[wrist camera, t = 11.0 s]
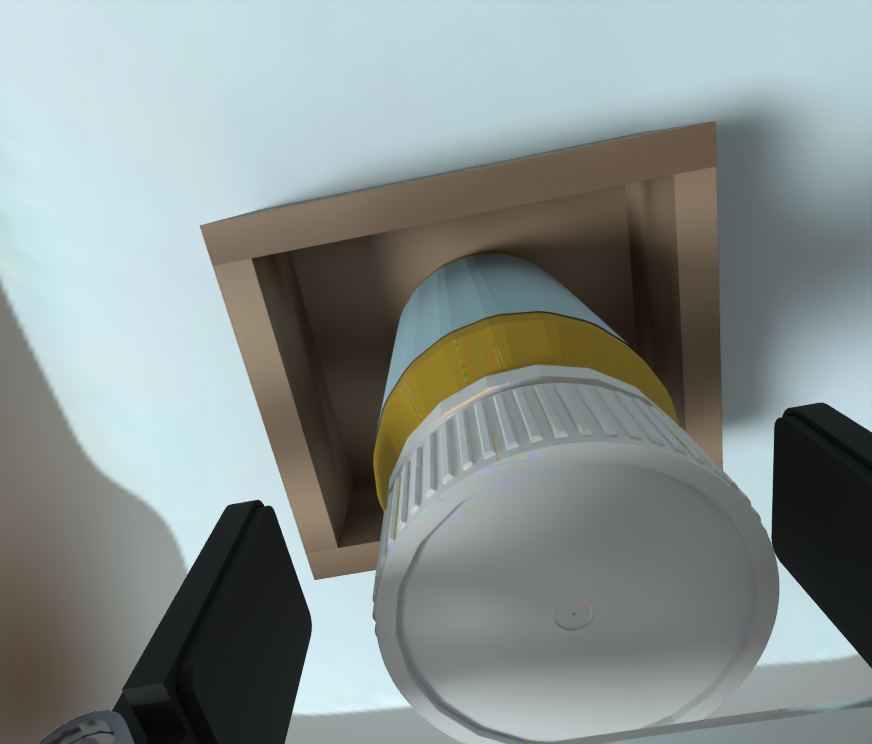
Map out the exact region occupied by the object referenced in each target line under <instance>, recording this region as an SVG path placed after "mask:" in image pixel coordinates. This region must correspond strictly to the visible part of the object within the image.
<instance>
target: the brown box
mask: <svg viewBox="0 0 872 744" xmlns="http://www.w3.org/2000/svg"><path fill="white" fill-rule="evenodd" d="M200 228H201V231H202V234H203V238H204V241H205V244H206V247H207V250H208V253H209V256H210V259H211V262H212V265H213V268H214V271H215V275H216V278H217V281H218V284H219V287H220V290H221V293H222V296H223V299H224V302H225V305H226V308H227V312H228V315H229V318H230V321H231V324H232V327H233V330H234V333H235V336H236V339H237V342H238V345H239V349H240V352H241V355H242V358H243V361H244V364H245V367H246V370H247V373H248V376H249V379H250V383H251V386H252V389H253V392H254V395H255V398H256V401H257V404H258V407H259V410H260V413H261V416H262V420H263V423H264V426H265V429H266V432H267V435H268V438H269V441H270V444H271V447H272V450H273V453H274V457H275V460H276V463H277V466H278V469H279V472H280V475H281V478H282V481H283V484H284V487H285V490H286V494H287V497H288V500H289V503H290V506H291V509H292V512H293V515H294V518H295V521H296V524H297V527H298V531H299V534H300V537H301V540H302V543H303V546H304V549H305V552H306V555H307V558H308V561H309V565H310V568H311V571H312V574H313V577H314V580H318V579H324V578H330V577H336V576H342V575H348V574H354V573H360V572H366V571H372V570H376V569H377V561H378V554H379V546H380V539H381V531H382V524H383V517H384V511H383V509H382V507H381V505H380V502H379V499H378V496H377V489H376V481H375V474H374V466H373V460H374V450H375V439H376V434H377V429H378V424H379V419H380V414H381V409H382V404H383V399H384V394H385V389H386V384H387V379H388V374H389V369H390V364H391V359H392V354H393V349H394V344H395V339H396V334H397V330H398V325H399V321H400V317H401V314H402V312H403V309H404V307H405V305H406V303H407V302H408V300H409V298H410V297H411V295H412V293H413V292H414V290H415V288H416V287H417V286H418V285H419V284H420V282H422V281H423V280H424V279H425V278H426V277H427V276H429V275H430V274H431V273H432V272H433V271H434V270H436V269H437V268H438V267H440V266H442V265H443V264H445V263H448V262H450V261H453V260H455V259H457V258H460V257H462V256H465V255H469V254H477V253H489V252H498V253H504V254H508V255H513V256H517V257H521V258H524V259H526V260H528V261H530V262H532V263H534V264H535V265H537V266H539V267H540V268H542V269H543V270H545V271H546V272H548V273H550V274H551V275H552V276H553V277H554V278H556V279H557V280H558V281H559V282H560V283H561V284H562V285H563V286H564V287H565V288H567V289H568V290H569V291H570V292H571V293H572V294H573V295H574V296H575V297H577V298H578V299H579V300H580V301H581V302H582V303H583V304H584V305H585V306H587V307H588V308H589V309H590V310H591V311H592V312H593V313H594V314H595V315H596V316H598V317H599V318H600V319H601V320H602V321H603V322H604V323H605V324H606V325H608V326H609V327H610V328H611V329H612V330H613V331H614V332H615V333H616V334H618V335H619V336H620V337H621V338H622V339H623V340H624V341H625V342H626V343H627V344H629V345H630V346H631V347H632V348H633V349H634V350H635V351H636V352H637V353H638V354H639V355H640V357H641V358H642V359H643V360H644V361H645V362H646V363H647V365H648V366H649V367H650V369H651V370H652V371H653V372H654V374H655V375H656V376H657V378H658V379H659V380H660V381H661V383H662V384H663V385H664V387H665V388H666V390H667V392H668V394H669V395H670V397H671V400H672V403H673V406H674V410H675V413H676V416H677V420H678V423H679V426H680V428H682V429H683V430H684V431H685V432H686V433H687V434H688V435H689V436H690V437H691V438H692V439H693V440H694V441H695V442H696V443H697V444H698V445H699V446H700V447H701V448H702V449H703V450H704V451H705V452H706V454H707V455H708V456H709V457H710V458H711V459H712V460H713V461H714V462H715V463H716V464H717V465H718V466H719V467H720V468H721V469H722V470H723V455H722V408H721V362H720V315H719V269H718V222H717V175H716V129H715V122H709V123H702V124H696V125H689V126H682V127H676V128H669V129H663V130H656V131H649V132H643V133H638V134H634V135H629V136H624V137H619V138H614V139H609V140H604V141H599V142H594V143H589V144H584V145H579V146H574V147H569V148H564V149H559V150H554V151H550V152H545V153H540V154H535V155H530V156H525V157H520V158H515V159H510V160H505V161H500V162H495V163H490V164H485V165H480V166H475V167H470V168H465V169H461V170H456V171H451V172H446V173H441V174H436V175H431V176H426V177H421V178H416V179H411V180H406V181H401V182H396V183H391V184H386V185H381V186H377V187H372V188H367V189H362V190H357V191H352V192H347V193H342V194H337V195H332V196H327V197H322V198H317V199H312V200H307V201H302V202H297V203H293V204H288V205H283V206H278V207H273V208H268V209H263V210H258V211H253V212H249V213H246V214H242V215H238V216H234V217H231V218H227V219H223V220H219V221H215V222H212V223H208V224H204V225H200Z"/></svg>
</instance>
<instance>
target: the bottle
mask: <svg viewBox="0 0 872 744" xmlns="http://www.w3.org/2000/svg"><path fill="white" fill-rule="evenodd" d="M373 466H374V474H375V481H376V489H377V496H378V499H379V502H380V505H381V507H382V509H383V511H384V517H383V524H382V531H381V539H380V546H379V554H378V561H377V569H376V576H375V584H374V591H373V602H374V606H373V619H374V620H375V621H376V625H375V634H376V636H377V639H378V644H379V648H380V652H381V655H382V658H383V661H384V664H385V666H386V668H387V671H388V673H389V675H390V677H391V678H392V680H393V682H394V684H395V685H396V687H397V688H398V690H399V691H400V693H401V694H402V695H403V697H404V698H405V699H406V700H407V702H408V703H409V704H410V705H411V706H412V707H413V708H414V709H415V710H416V711H417V712H418V713H419V714H420V715H421V716H422V717H424V718H425V719H426V720H427V721H429V722H430V723H431V724H432V725H433V726H435V727H436V728H438V729H439V730H441V731H442V732H444V733H446V734H447V735H449V736H451V737H452V738H454V739H456V740H458V741H460V742H462V743H464V744H539V743H546V742H553V741H559V740H566V739H573V738H580V737H587V736H594V735H601V734H608V733H615V732H622V731H629V730H636V729H643V728H650V727H657V726H664V725H671V724H678V723H685V722H692V721H699V720H702V719H704V718H705V717H706V716H708V715H709V714H710V713H711V712H713V711H714V710H715V709H716V708H718V707H719V706H720V705H721V704H722V703H724V702H725V701H726V700H727V699H728V698H729V697H730V696H731V695H732V694H733V693H734V692H735V690H737V688H738V687H739V686H740V685H741V684H742V683H743V682H744V680H745V679H746V678H747V676H748V675H749V674H750V673H751V671H752V670H753V668H754V667H755V665H756V664H757V662H758V660H759V659H760V657H761V655H762V653H763V651H764V649H765V647H766V645H767V643H768V640H769V638H770V635H771V633H772V630H773V626H774V623H775V619H776V615H777V609H778V602H779V574H778V567H777V562H776V557H775V554H774V550H773V547H772V545H771V542H770V539H769V537H768V534H767V532H766V530H765V529H764V527H763V525H762V523H761V518H760V516H759V514H758V513H757V512H756V511H755V510H754V508H753V507H752V506H751V502H750V500H749V499H748V498H747V496H746V495H745V494H744V493H743V492H742V491H741V490H740V489H739V488H738V486H737V485H736V484H735V483H734V482H733V481H732V480H731V479H730V477H729V476H728V475H727V474H726V473H725V472H724V471H723V470H722V469H721V468H720V467H719V466H718V465H717V464H716V463H715V462H714V461H713V460H712V459H711V458H710V457H709V456H708V455H707V454H706V452H705V451H704V450H703V449H702V448H701V447H700V446H699V445H698V444H697V443H696V442H695V441H694V440H693V439H692V438H691V437H690V436H689V435H688V434H687V433H686V432H685V431H684V430H683V429H682V428H680V426H679V423H678V420H677V416H676V413H675V410H674V406H673V403H672V400H671V397H670V395H669V394H668V392H667V390H666V388H665V387H664V385H663V384H662V383H661V381H660V380H659V379H658V378H657V376H656V375H655V374H654V372H653V371H652V370H651V369H650V367H649V366H648V365H647V363H646V362H645V361H644V360H643V359H642V358H641V357H640V355H639V354H638V353H637V352H636V351H635V350H634V349H633V348H632V347H631V346H630V345H629V344H627V343H626V342H625V341H624V340H623V339H622V338H621V337H620V336H619V335H618V334H616V333H615V332H614V331H613V330H612V329H611V328H610V327H609V326H608V325H606V324H605V323H604V322H603V321H602V320H601V319H600V318H599V317H598V316H596V315H595V314H594V313H593V312H592V311H591V310H590V309H589V308H588V307H587V306H585V305H584V304H583V303H582V302H581V301H580V300H579V299H578V298H577V297H575V296H574V295H573V294H572V293H571V292H570V291H569V290H568V289H567V288H565V287H564V286H563V285H562V284H561V283H560V282H559V281H558V280H557V279H556V278H554V277H553V276H552V275H551V274H550V273H548V272H546V271H545V270H543V269H542V268H540V267H539V266H537V265H535V264H534V263H532V262H530V261H528V260H526V259H524V258H521V257H517V256H513V255H508V254H504V253H498V252H489V253H477V254H469V255H465V256H462V257H460V258H457V259H455V260H453V261H450V262H448V263H445V264H443V265H442V266H440V267H438V268H437V269H436V270H434V271H433V272H432V273H431V274H430V275H429V276H427V277H426V278H425V279H424V280H423V281H422V282H420V284H419V285H418V286H417V287H416V288H415V290H414V292H413V293H412V295H411V297H410V298H409V300H408V302H407V303H406V305H405V307H404V309H403V312H402V314H401V317H400V321H399V325H398V330H397V334H396V339H395V344H394V349H393V354H392V359H391V364H390V369H389V374H388V379H387V384H386V389H385V394H384V399H383V404H382V409H381V414H380V419H379V424H378V429H377V434H376V439H375V450H374V460H373Z"/></svg>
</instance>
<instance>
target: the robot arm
mask: <svg viewBox="0 0 872 744" xmlns="http://www.w3.org/2000/svg"><path fill="white" fill-rule="evenodd" d="M772 546H773V549H774V552H775V554H776V556H777V558H778V559H779V561H780V562H781V563H782V564H783V566H784V567H785V568H786V569H787V570H788V571H789V573H790V574H791V575H792V576H793V577H794V578H795V580H796V581H797V582H798V583H799V584H800V585H801V587H802V588H803V589H804V590H805V591H806V592H807V594H808V595H809V596H810V597H811V598H812V599H813V601H814V602H815V603H816V604H817V605H818V606H819V608H820V609H821V610H822V611H823V612H824V613H825V615H826V616H827V617H828V618H829V619H830V620H831V621H832V623H833V624H834V625H835V626H836V627H837V628H838V630H839V631H840V632H841V633H842V634H843V635H844V637H845V638H846V639H847V640H848V641H849V642H850V644H851V645H852V646H853V647H854V648H855V649H856V651H857V652H858V653H859V654H860V655H861V656H862V658H863V659H864V660H865V661H866V662H867V663H868V665H869V666H870V667H871V668H872V432H870V431H869V430H867V429H865V428H864V427H862V426H861V425H859V424H857V423H856V422H854V421H853V420H851V419H850V418H848V417H846V416H845V415H843V414H842V413H840V412H839V411H837V410H835V409H834V408H832V407H831V406H829V405H827V404H825V403H815V404H810V405H804V406H798V407H792V408H788V409H786V410H785V412H784V414H783V417H782V418H778V419H777V420H776V422H775V427H774V462H773V500H772ZM311 631H312V622H311V616H310V612H309V609H308V606H307V603H306V600H305V598H304V595H303V592H302V589H301V586H300V583H299V580H298V577H297V575H296V572H295V569H294V566H293V563H292V560H291V557H290V554H289V552H288V549H287V546H286V543H285V540H284V537H283V534H282V531H281V528H280V526H279V523H278V520H277V517H276V514H275V512H274V509H273V508H272V507H271V506H264V504H263V503H262V502H261V501H260V500H254V501H248V502H242V503H237V504H231V505H228V506H227V507H226V508H225V510H224V512H223V513H222V515H221V517H220V519H219V521H218V522H217V524H216V526H215V528H214V529H213V531H212V533H211V535H210V536H209V538H208V540H207V542H206V543H205V545H204V547H203V549H202V550H201V552H200V554H199V556H198V557H197V559H196V561H195V563H194V564H193V566H192V568H191V570H190V571H189V573H188V575H187V577H186V578H185V580H184V582H183V584H182V585H181V587H180V589H179V591H178V593H177V594H176V596H175V598H174V600H173V601H172V603H171V605H170V606H169V608H168V610H167V612H166V614H165V616H164V617H163V619H162V621H161V622H160V624H159V626H158V628H157V629H156V631H155V633H154V635H153V636H152V638H151V640H150V642H149V643H148V645H147V647H146V649H145V650H144V652H143V654H142V656H141V657H140V659H139V661H138V663H137V665H136V666H135V668H134V670H133V671H132V674H131V675H130V677H129V678H128V680H127V682H126V684H125V686H124V687H123V689H122V691H123V693H122V694H121V696H120V698H119V700H118V701H117V703H116V705H115V707H114V708H113V710H112V711H110V710H101V711H93V712H90V713H87V714H84V715H81V716H77V717H76V718H74V719H72V720H70V721H68V722H67V723H65V724H63V725H61V726H59V727H58V728H56V729H55V730H54V731H52V732H51V733H50V734H48V735H47V736H46V737H44V738H43V739H42V740H41V741H40V742H39V743H38V744H285V740H286V736H287V731H288V727H289V723H290V719H291V715H292V711H293V707H294V703H295V699H296V695H297V691H298V686H299V682H300V678H301V674H302V670H303V666H304V662H305V658H306V654H307V649H308V645H309V641H310V637H311ZM539 744H872V697H865V698H858V699H851V700H843V701H836V702H829V703H822V704H815V705H807V706H800V707H793V708H786V709H778V710H771V711H763V712H756V713H749V714H742V715H735V716H727V717H720V718H714V719H706V720H699V721H692V722H685V723H678V724H671V725H664V726H657V727H650V728H643V729H636V730H629V731H622V732H615V733H608V734H601V735H594V736H587V737H580V738H573V739H566V740H559V741H553V742H546V743H539Z"/></svg>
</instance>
